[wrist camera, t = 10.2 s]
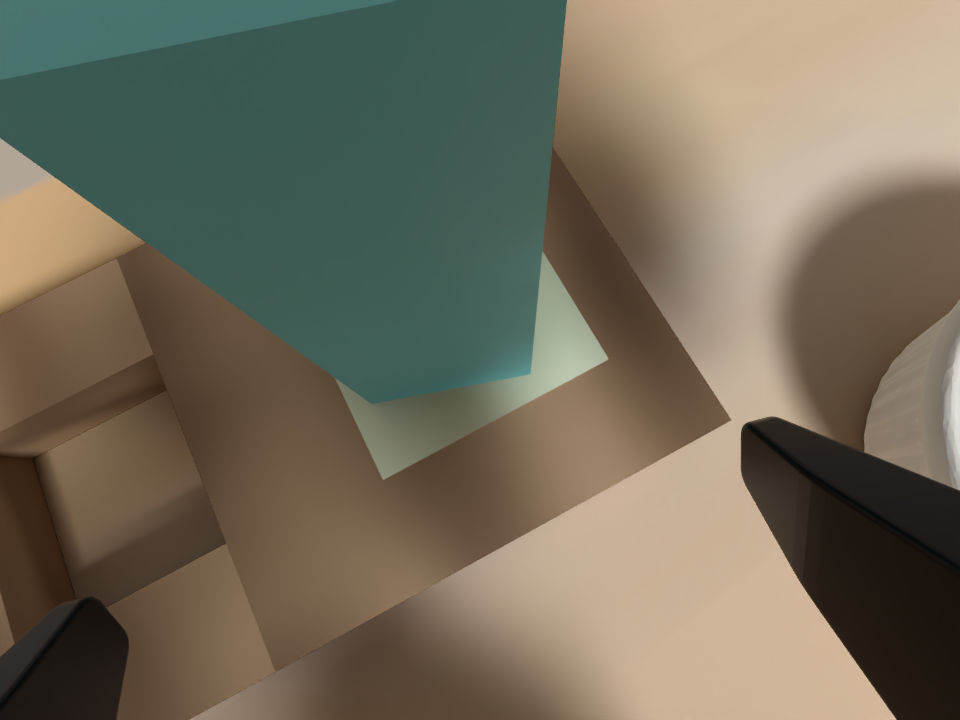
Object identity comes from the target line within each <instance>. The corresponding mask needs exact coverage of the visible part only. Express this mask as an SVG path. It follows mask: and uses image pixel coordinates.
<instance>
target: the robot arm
mask: <svg viewBox="0 0 960 720" xmlns="http://www.w3.org/2000/svg"><path fill="white" fill-rule="evenodd" d="M741 473H742V477H743V480H744V483H745V485H746V487H747V489H748V491H749V492H750V494H751V496H752V498H753V500H754V501H755V503H756V505H757V507H758V508H759V510H760V512H761V514H762V516H763V517H764V519H765V521H766V523H767V525H768V526H769V528H770V530H771V532H772V533H773V535H774V537H775V539H776V541H777V542H778V544H779V546H780V548H781V550H782V551H783V553H784V555H785V557H786V558H787V560H788V562H789V564H790V566H791V567H792V569H793V571H794V572H795V574H796V576H797V578H798V579H799V581H800V583H801V584H802V586H803V587H804V589H805V590H806V592H807V593H808V595H809V596H810V598H811V599H812V601H813V602H814V604H815V605H816V606H817V608H818V609H819V611H820V612H821V614H822V615H823V616H824V618H825V619H826V621H827V622H828V623H829V625H830V626H831V628H832V629H833V631H834V632H835V633H836V635H837V636H838V638H839V639H840V640H841V642H842V643H843V645H844V646H845V647H846V649H847V650H848V652H849V653H850V655H851V656H852V657H853V659H854V660H855V662H856V663H857V664H858V666H859V667H860V669H861V670H862V671H863V673H864V674H865V676H866V677H867V679H868V680H869V681H870V683H871V684H872V686H873V687H874V688H875V690H876V691H877V693H878V694H879V695H880V697H881V698H882V700H883V701H884V703H885V704H886V705H887V707H888V708H889V710H890V711H891V712H892V714H893V715H894V717H895V718H896V719H897V720H960V490H958V489H955V488H953V487H950V486H948V485H945V484H943V483H940V482H938V481H935V480H933V479H930V478H928V477H925V476H923V475H921V474H918V473H916V472H913V471H911V470H908V469H906V468H903V467H901V466H898V465H896V464H893V463H891V462H888V461H886V460H883V459H881V458H878V457H876V456H873V455H871V454H868V453H866V452H863V451H861V450H858V449H856V448H853V447H851V446H848V445H846V444H843V443H841V442H838V441H836V440H833V439H831V438H828V437H826V436H823V435H821V434H818V433H816V432H813V431H811V430H808V429H806V428H803V427H801V426H798V425H796V424H793V423H791V422H788V421H786V420H783V419H781V418H778V417H766V418H762V419H759V420H755V421H751V422H748V423H746V424H744V426H743V427H742V431H741ZM128 653H129V639H128V635H127V633H126V631H125V629H124V628H123V627H122V626H121V624H120V623H119V622H118V621H117V620H116V619H115V618H114V616H113V615H112V614H111V613H110V612H109V611H108V610H107V608H106V607H105V606H104V605H103V604H102V603H101V602H100V601H99V600H98V599H96V598H94V597H83V598H80V599H76V600H72V601H68V602H64V603H62V604H60V605H58V606H56V607H55V608H54V609H52V610H51V611H50V612H49V613H48V614H47V615H46V616H45V617H43V618H42V619H41V620H40V621H39V622H38V623H37V624H36V625H35V626H34V627H32V628H31V629H30V630H29V631H28V632H27V633H26V634H25V635H24V636H22V637H21V638H20V639H19V640H18V641H17V642H16V643H15V644H14V645H12V646H11V647H10V648H9V649H8V650H7V651H6V652H5V653H4V654H2V655H1V656H0V720H116V719H117V713H118V708H119V702H120V697H121V691H122V686H123V680H124V675H125V669H126V664H127V659H128Z"/></svg>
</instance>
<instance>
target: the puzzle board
mask: <svg viewBox="0 0 960 720" xmlns="http://www.w3.org/2000/svg"><path fill="white" fill-rule="evenodd" d="M165 390H167V391H168V394H169V396H170V399H171V402H172V404H173V407H174V409H175V412H176V415H177V417H178V420H179V422H180V425H181V428H182V430H183V433H184V435H185V438H186V441H187V443H188V446H189V448H190V451H191V454H192V456H193V459H194V461H195V464H196V467H197V469H198V472H199V474H200V477H201V480H202V482H203V485H204V487H205V490H206V493H207V495H208V498H209V500H210V503H211V506H212V508H213V511H214V513H215V516H216V519H217V521H218V524H219V526H220V529H221V532H222V534H223V537H224V539H225V542H226V544H224V545H223V546H221V547H219V548H217V549H215V550H213V551H211V552H209V553H208V554H206V555H204V556H202V557H200V558H198V559H196V560H194V561H193V562H191V563H189V564H187V565H185V566H183V567H181V568H179V569H178V570H176V571H174V572H172V573H170V574H168V575H166V576H164V577H163V578H161V579H159V580H157V581H155V582H153V583H151V584H149V585H148V586H146V587H144V588H142V589H140V590H138V591H136V592H134V593H133V594H131V595H129V596H127V597H125V598H123V599H121V600H119V601H118V602H116V603H114V604H112V605H110V606H108V607H106V608H107V610H108V611H109V612H110V613H111V614H112V615H113V616H114V618H115V619H116V620H117V621H118V622H119V623H120V624H121V626H122V627H123V628H124V629H125V631H126V633H127V635H128V639H129V653H128V659H127V664H126V669H125V675H124V680H123V686H122V691H121V697H120V702H119V708H118V713H117V719H116V720H189V719H191V718H193V717H194V716H196V715H198V714H200V713H202V712H204V711H205V710H207V709H209V708H211V707H213V706H214V705H216V704H218V703H220V702H222V701H223V700H225V699H227V698H229V697H231V696H233V695H234V694H236V693H238V692H240V691H242V690H243V689H245V688H247V687H249V686H251V685H252V684H254V683H256V682H258V681H260V680H261V679H263V678H265V677H267V676H269V675H271V674H272V673H274V672H276V671H278V670H280V669H281V668H283V667H285V666H287V665H289V664H290V663H292V662H294V661H296V660H298V659H300V658H301V657H303V656H305V655H307V654H309V653H310V652H312V651H314V650H316V649H318V648H319V647H321V646H323V645H325V644H327V643H329V642H330V641H332V640H334V639H336V638H338V637H339V636H341V635H343V634H345V633H347V632H348V631H350V630H352V629H354V628H356V627H357V626H359V625H361V624H363V623H365V622H367V621H368V620H370V619H372V618H374V617H376V616H377V615H379V614H381V613H383V612H385V611H386V610H388V609H390V608H392V607H394V606H396V605H397V604H399V603H401V602H403V601H405V600H406V599H408V598H410V597H412V596H414V595H415V594H417V593H419V592H421V591H423V590H425V589H426V588H428V587H430V586H432V585H434V584H435V583H437V582H439V581H441V580H443V579H444V578H446V577H448V576H450V575H452V574H453V573H455V572H457V571H459V570H461V569H463V568H464V567H466V566H468V565H470V564H472V563H473V562H475V561H477V560H479V559H481V558H482V557H484V556H486V555H488V554H490V553H492V552H493V551H495V550H497V549H499V548H501V547H502V546H504V545H506V544H508V543H510V542H511V541H513V540H515V539H517V538H519V537H521V536H522V535H524V534H526V533H528V532H530V531H531V530H533V529H535V528H537V527H539V526H540V525H542V524H544V523H546V522H548V521H549V520H551V519H553V518H555V517H557V516H559V515H560V514H562V513H564V512H566V511H568V510H569V509H571V508H573V507H575V506H577V505H578V504H580V503H582V502H584V501H586V500H588V499H589V498H591V497H593V496H595V495H597V494H598V493H600V492H602V491H604V490H606V489H607V488H609V487H611V486H613V485H615V484H617V483H618V482H620V481H622V480H624V479H626V478H627V477H629V476H631V475H633V474H635V473H636V472H638V471H640V470H642V469H644V468H645V467H647V466H649V465H651V464H653V463H655V462H656V461H658V460H660V459H662V458H664V457H665V456H667V455H669V454H671V453H673V452H674V451H676V450H678V449H680V448H682V447H684V446H685V445H687V444H689V443H691V442H693V441H694V440H696V439H698V438H700V437H702V436H703V435H705V434H707V433H709V432H711V431H713V430H714V429H716V428H718V427H720V426H722V425H723V424H725V423H727V422H729V421H731V419H730V417H729V416H728V414H727V413H726V411H725V410H724V408H723V407H722V405H721V404H720V402H719V400H718V399H717V397H716V396H715V394H714V393H713V391H712V390H711V388H710V387H709V385H708V384H707V382H706V381H705V379H704V378H703V376H702V375H701V373H700V371H699V370H698V368H697V367H696V365H695V364H694V362H693V361H692V359H691V358H690V356H689V355H688V353H687V352H686V350H685V349H684V347H683V346H682V344H681V342H680V341H679V339H678V338H677V336H676V335H675V333H674V332H673V330H672V329H671V327H670V326H669V324H668V323H667V321H666V320H665V318H664V317H663V315H662V313H661V312H660V310H659V309H658V307H657V306H656V304H655V303H654V301H653V300H652V298H651V297H650V295H649V294H648V292H647V291H646V289H645V288H644V286H643V285H642V283H641V281H640V280H639V278H638V277H637V275H636V274H635V272H634V271H633V269H632V268H631V266H630V265H629V263H628V262H627V260H626V259H625V257H624V256H623V254H622V252H621V251H620V249H619V248H618V246H617V245H616V243H615V242H614V240H613V239H612V237H611V236H610V234H609V233H608V231H607V230H606V228H605V227H604V225H603V223H602V222H601V220H600V219H599V217H598V216H597V214H596V213H595V211H594V210H593V208H592V207H591V205H590V204H589V202H588V201H587V199H586V198H585V196H584V194H583V193H582V191H581V190H580V188H579V187H578V185H577V184H576V182H575V181H574V179H573V178H572V176H571V175H570V173H569V172H568V170H567V169H566V167H565V165H564V164H563V162H562V161H561V159H560V158H559V156H558V155H557V153H556V152H555V150H554V149H553V147H552V158H551V168H550V178H549V189H548V199H547V209H546V220H545V230H544V240H543V250H542V261H541V271H540V281H539V292H538V302H537V312H536V323H535V333H534V343H533V354H532V364H531V374H529V375H524V376H519V377H513V378H508V379H503V380H497V381H492V382H487V383H481V384H476V385H471V386H465V387H460V388H455V389H449V390H444V391H439V392H434V393H428V394H423V395H418V396H412V397H407V398H402V399H396V400H391V401H386V402H380V403H375V404H371V403H369V402H368V401H367V400H365V399H364V398H362V397H361V396H360V395H358V394H357V393H355V392H354V391H353V390H351V389H350V388H348V387H347V386H346V385H344V384H343V383H341V382H340V381H339V380H337V379H336V378H334V377H333V376H332V375H330V374H329V373H327V372H326V371H325V370H323V369H322V368H321V367H319V366H318V365H316V364H315V363H314V362H312V361H311V360H309V359H308V358H307V357H305V356H304V355H302V354H301V353H300V352H298V351H297V350H295V349H294V348H293V347H291V346H290V345H288V344H287V343H286V342H284V341H283V340H281V339H280V338H279V337H277V336H276V335H274V334H273V333H272V332H270V331H269V330H267V329H266V328H265V327H263V326H262V325H260V324H259V323H258V322H256V321H255V320H254V319H252V318H251V317H249V316H248V315H247V314H245V313H244V312H242V311H241V310H240V309H238V308H237V307H235V306H234V305H233V304H231V303H230V302H228V301H227V300H226V299H224V298H223V297H221V296H220V295H219V294H217V293H216V292H214V291H213V290H212V289H210V288H209V287H207V286H206V285H205V284H203V283H202V282H200V281H199V280H198V279H196V278H195V277H194V276H192V275H191V274H189V273H188V272H187V271H185V270H184V269H182V268H181V267H180V266H178V265H177V264H175V263H174V262H173V261H171V260H170V259H168V258H167V257H166V256H164V255H163V254H161V253H160V252H159V251H157V250H156V249H154V248H153V247H152V246H150V245H149V244H147V243H146V244H144V245H142V246H140V247H138V248H136V249H134V250H132V251H130V252H128V253H126V254H124V255H122V256H120V257H118V258H116V259H114V260H112V261H110V262H108V263H106V264H104V265H102V266H100V267H98V268H96V269H94V270H92V271H90V272H88V273H86V274H84V275H81V276H79V277H77V278H75V279H73V280H71V281H69V282H67V283H65V284H63V285H61V286H59V287H57V288H55V289H53V290H51V291H49V292H47V293H45V294H43V295H41V296H39V297H37V298H35V299H33V300H31V301H29V302H27V303H25V304H23V305H21V306H19V307H17V308H15V309H13V310H11V311H9V312H6V313H4V314H2V315H0V656H1V655H2V654H4V653H5V652H6V651H7V650H8V649H9V648H10V647H11V646H12V645H14V644H15V643H16V642H17V641H18V640H19V639H20V638H21V637H22V636H24V635H25V634H26V633H27V632H28V631H29V630H30V629H31V628H32V627H34V626H35V625H36V624H37V623H38V622H39V621H40V620H41V619H42V618H43V617H45V616H46V615H47V614H48V613H49V612H50V611H51V610H52V609H54V608H55V607H56V606H58V605H60V604H62V603H64V602H68V601H72V600H75V596H74V593H73V590H72V587H71V583H70V580H69V577H68V574H67V570H66V567H65V564H64V561H63V557H62V554H61V551H60V548H59V544H58V541H57V538H56V535H55V531H54V528H53V525H52V521H51V518H50V515H49V512H48V508H47V505H46V502H45V499H44V495H43V492H42V489H41V486H40V482H39V479H38V476H37V473H36V469H35V466H34V463H33V460H32V458H34V457H36V456H38V455H40V454H42V453H44V452H46V451H48V450H50V449H52V448H54V447H56V446H58V445H60V444H62V443H64V442H65V441H67V440H69V439H71V438H73V437H75V436H77V435H79V434H81V433H83V432H85V431H87V430H89V429H91V428H93V427H95V426H97V425H99V424H101V423H103V422H105V421H107V420H108V419H110V418H112V417H114V416H116V415H118V414H120V413H122V412H124V411H126V410H128V409H130V408H132V407H134V406H136V405H138V404H140V403H142V402H144V401H146V400H148V399H149V398H151V397H153V396H155V395H157V394H159V393H161V392H163V391H165Z"/></svg>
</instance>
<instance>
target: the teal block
mask: <svg viewBox="0 0 960 720" xmlns="http://www.w3.org/2000/svg"><path fill="white" fill-rule="evenodd" d="M566 3H567V0H0V138H1V139H2V140H4V141H5V142H7V143H8V144H9V145H11V146H12V147H13V148H15V149H16V150H18V151H19V152H20V153H22V154H23V155H25V156H26V157H28V158H29V159H30V160H32V161H33V162H34V163H36V164H37V165H39V166H40V167H41V168H43V169H44V170H46V171H47V172H48V173H50V174H51V175H53V176H54V177H55V178H57V179H58V180H60V181H61V182H62V183H64V184H65V185H67V186H68V187H69V188H71V189H72V190H73V191H75V192H76V193H78V194H79V195H80V196H82V197H83V198H85V199H86V200H87V201H89V202H90V203H92V204H93V205H94V206H96V207H97V208H99V209H100V210H101V211H103V212H104V213H106V214H107V215H108V216H110V217H111V218H113V219H114V220H115V221H117V222H118V223H120V224H121V225H122V226H124V227H125V228H127V229H128V230H129V231H131V232H132V233H133V234H135V235H136V236H138V237H139V238H140V239H142V240H143V241H145V242H146V243H147V244H149V245H150V246H152V247H153V248H154V249H156V250H157V251H159V252H160V253H161V254H163V255H164V256H166V257H167V258H168V259H170V260H171V261H173V262H174V263H175V264H177V265H178V266H180V267H181V268H182V269H184V270H185V271H187V272H188V273H189V274H191V275H192V276H194V277H195V278H196V279H198V280H199V281H200V282H202V283H203V284H205V285H206V286H207V287H209V288H210V289H212V290H213V291H214V292H216V293H217V294H219V295H220V296H221V297H223V298H224V299H226V300H227V301H228V302H230V303H231V304H233V305H234V306H235V307H237V308H238V309H240V310H241V311H242V312H244V313H245V314H247V315H248V316H249V317H251V318H252V319H254V320H255V321H256V322H258V323H259V324H260V325H262V326H263V327H265V328H266V329H267V330H269V331H270V332H272V333H273V334H274V335H276V336H277V337H279V338H280V339H281V340H283V341H284V342H286V343H287V344H288V345H290V346H291V347H293V348H294V349H295V350H297V351H298V352H300V353H301V354H302V355H304V356H305V357H307V358H308V359H309V360H311V361H312V362H314V363H315V364H316V365H318V366H319V367H321V368H322V369H323V370H325V371H326V372H327V373H329V374H330V375H332V376H333V377H334V378H336V379H337V380H339V381H340V382H341V383H343V384H344V385H346V386H347V387H348V388H350V389H351V390H353V391H354V392H355V393H357V394H358V395H360V396H361V397H362V398H364V399H365V400H367V401H368V402H369V403H371V404H375V403H380V402H386V401H391V400H396V399H402V398H407V397H412V396H418V395H423V394H428V393H434V392H439V391H444V390H449V389H455V388H460V387H465V386H471V385H476V384H481V383H487V382H492V381H497V380H503V379H508V378H513V377H519V376H524V375H529V374H531V364H532V354H533V343H534V333H535V323H536V312H537V302H538V292H539V281H540V271H541V261H542V250H543V240H544V230H545V220H546V209H547V199H548V189H549V178H550V168H551V158H552V147H553V137H554V127H555V116H556V106H557V96H558V85H559V75H560V65H561V55H562V44H563V34H564V24H565V13H566Z"/></svg>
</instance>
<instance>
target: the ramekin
mask: <svg viewBox="0 0 960 720" xmlns="http://www.w3.org/2000/svg"><path fill="white" fill-rule="evenodd" d="M864 444H865V450H864V452H866V453H868V454H871V455H873V456H876V457H878V458H881V459H883V460H886V461H888V462H891V463H893V464H896V465H898V466H901V467H903V468H906V469H908V470H911V471H913V472H916V473H918V474H921V475H923V476H925V477H928V478H930V479H933V480H935V481H938V482H940V483H943V484H945V485H948V486H950V487H953V488H955V489H958V490H960V300H959V301H958V302H957V303H956V305H955V306H954V307H953V309H952V310H951V311H950V312H949V313H948V314H947V315H945V316H944V317H943V318H941V319H940V320H939V321H937V322H936V323H935V324H933V325H932V326H931V327H930V328H928V329H927V330H926V331H925V332H923V333H922V334H921V335H920V336H918V337H917V338H916V339H915V340H913V341H912V342H911V343H910V344H909V345H907V346H906V347H905V349H904V350H903V351H902V353H901V354H900V355H899V356H898V357H897V358H896V359H895V360H894V361H893V362H892V363H891V365H890V367H889V369H888V371H887V372H886V374H885V375H884V376H883V377H882V379H881V381H880V384H879V387H878V390H877V392H876V393H875V395H874V397H873V399H872V404H871V408H870V411H869V414H868V416H867V423H866V429H865V432H864Z"/></svg>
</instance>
